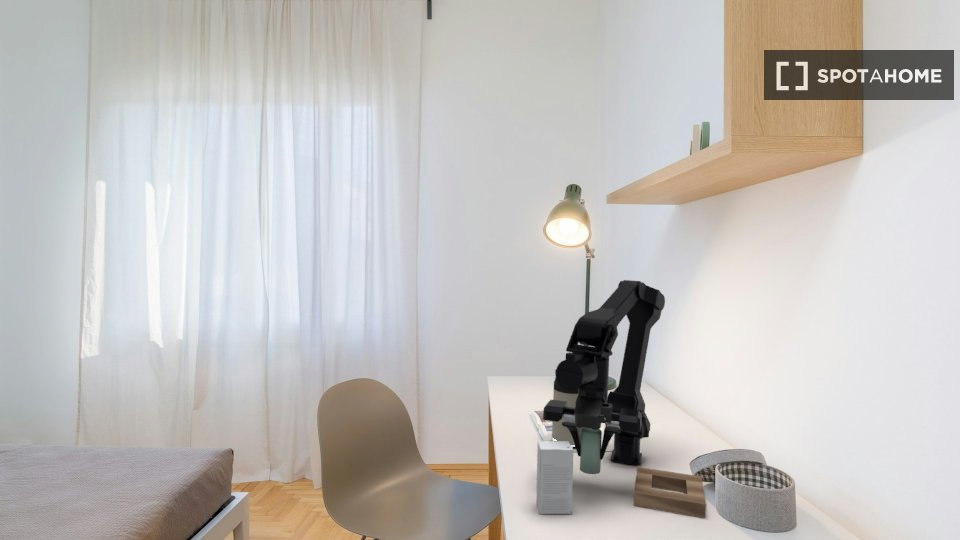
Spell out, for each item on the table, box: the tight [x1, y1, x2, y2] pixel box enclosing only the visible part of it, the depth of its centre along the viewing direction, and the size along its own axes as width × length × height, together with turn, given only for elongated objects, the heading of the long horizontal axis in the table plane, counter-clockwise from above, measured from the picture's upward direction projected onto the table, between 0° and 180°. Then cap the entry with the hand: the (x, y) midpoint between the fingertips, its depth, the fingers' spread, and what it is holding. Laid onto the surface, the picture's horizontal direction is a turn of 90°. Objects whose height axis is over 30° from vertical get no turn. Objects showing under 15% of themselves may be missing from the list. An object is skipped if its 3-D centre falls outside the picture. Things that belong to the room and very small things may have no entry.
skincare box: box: [535, 440, 574, 515], centre depth 100 cm, size 6×4×12 cm
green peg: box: [579, 428, 603, 475], centre depth 110 cm, size 4×4×8 cm
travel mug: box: [551, 367, 585, 445], centre depth 133 cm, size 8×8×18 cm
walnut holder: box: [633, 466, 707, 519], centre depth 106 cm, size 12×12×2 cm
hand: (590, 457), depth 110 cm, fingers closed on green peg, 4 cm apart
